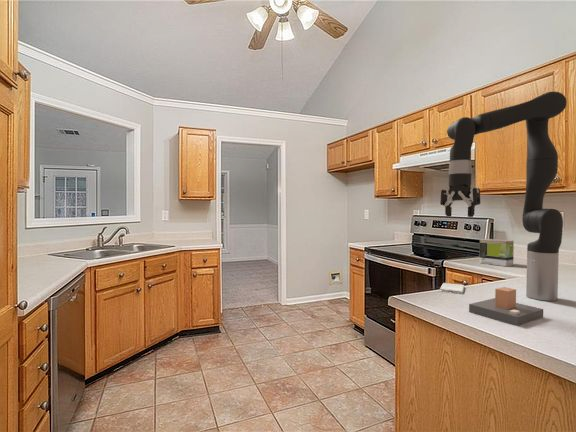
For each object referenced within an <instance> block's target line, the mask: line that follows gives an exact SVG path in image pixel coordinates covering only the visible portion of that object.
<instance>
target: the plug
mask: <svg viewBox="0 0 576 432" xmlns="http://www.w3.org/2000/svg"><path fill="white" fill-rule="evenodd" d="M494 292H495V294H494V296H495V297H494V298H495V306H496V307H500V308H504V309H510V308H514V307H516V303H517V289H515V288H511V287H506V286H502V287H498V288H495V291H494Z"/></svg>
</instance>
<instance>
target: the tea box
mask: <svg viewBox="0 0 576 432" xmlns="http://www.w3.org/2000/svg"><path fill="white" fill-rule="evenodd" d="M514 248H515V246H514V240H508V239H495V238H494V239H493V238H484V239H483V238H482V239H479V264H484V265H486V264H487V265H493V266H501V267H510V266H513V265H514Z"/></svg>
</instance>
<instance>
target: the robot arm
mask: <svg viewBox="0 0 576 432" xmlns="http://www.w3.org/2000/svg"><path fill="white" fill-rule="evenodd" d="M567 102H568V101H567V98H566V96H565V95H564V94H563V93H562V92H559V91H555V90H554V91H548V92H545V93H542V94H541V95H539V96H536V97H534V98H532V99H530V100H528V101H524V102H522V103H518V104H515V105H511V106H507V107H504V108H499V109H495V110H491V111H490V110H489V111H487V112H483V113H480V114H477V115H476V116H474V117H467V116H465V117H461V118H459V119H457V120H455V121H454V122H452V123H451V124H450V125H449V126H448V127H447V129H446V134H447V136H448V138H449V139H451V140H453V141H454V143H453V145H452V146H451V147H450V149H449V163H448V164H449V166H448V189H441V190H440V205H441V206H443V207H444V208H445V209H444V211H445V212H444V213H445V214H444V215H445V216H446V217H447V218H448V217H451V216H452V210H453V209H452V205H453V204H454V203H455V202H456V201H457V202H458V201H463V202H465V203H466V204H467V218H473V217H474V216H475V210H476V209H475V206H479V205H481V189H480V187H473V188H472V187H471V186H472V171H473V170H472V146H473V143H474V139H475V135H480V134H484V133H489V132H492V131H493V132H494V131H496V130H499V129H503V128H505V127H506V128H507V127H509V126H511V125H514V124H517V123H520V122H523V121H525V125H526V137H527V138H526V142H527V143H526V181H525V182H526V183H525V195H524V202H523V203H524V204H523V208H522V209H523V211H522V226H523V228H524V229H525V231H527V233H535V234H539V236H538V239H537V240H535V241H532V242H529V243H528V244H527V247H526V283H525V284H526V286H525V287H526V290H525V291H526V292H525V294H526V295H525V296H526V297H528V298H530V299H534V300H538V301H539V300H540V301H548V302H554V301H555V302H556V301H558V296H559V295H558V294H559V291H558V290H559V253H560V252H559V251H560V247H561V245H562V239H563V229H564V219H563V215H562V213H561V212H560V210H558V209H554V208H544V207H543V206H544V205H543V204H544V198H545V194H546V192H547V191H548V189H549V187H550V186H551V185H552V183H553V182H554V180H555V178H556V176H557V174H558V167H559V165H558V163H559V155H558V151H557V149H556V147H555V145H554V143H553V142H552V140H551V139H550V136H549V122H550V121H549V120H550V119H552V118H555V117H556V116H558V115H560V114H561V113H563V112H564V110H566V107H567ZM471 194H472V197H471Z"/></svg>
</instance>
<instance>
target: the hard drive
mask: <svg viewBox="0 0 576 432" xmlns="http://www.w3.org/2000/svg"><path fill="white" fill-rule="evenodd" d="M446 289H447V290H446ZM440 290H442V291H444V292H445V293H449V292H451V294H457V293H459V294H458V295H463V294H464V290H465V285H464V284H459V283H458V284H457V283H450V282H443V283H442V285H441V286H440V287H439V291H440ZM444 292H443V293H444Z"/></svg>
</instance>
